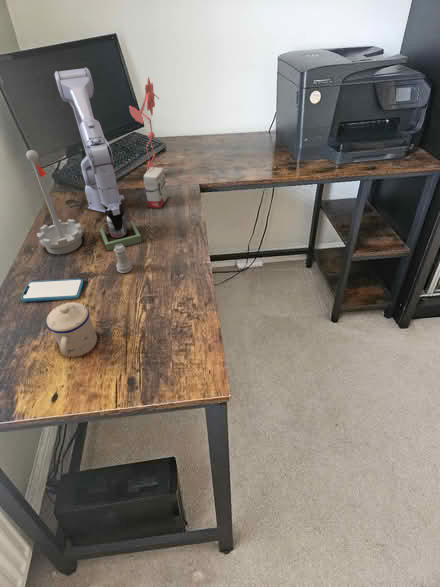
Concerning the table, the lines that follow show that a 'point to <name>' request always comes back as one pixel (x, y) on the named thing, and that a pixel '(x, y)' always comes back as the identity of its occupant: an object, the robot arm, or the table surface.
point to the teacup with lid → (72, 329)
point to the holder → (124, 241)
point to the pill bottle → (116, 232)
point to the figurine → (138, 117)
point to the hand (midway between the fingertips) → (116, 224)
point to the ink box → (155, 187)
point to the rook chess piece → (122, 259)
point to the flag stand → (55, 221)
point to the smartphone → (52, 290)
